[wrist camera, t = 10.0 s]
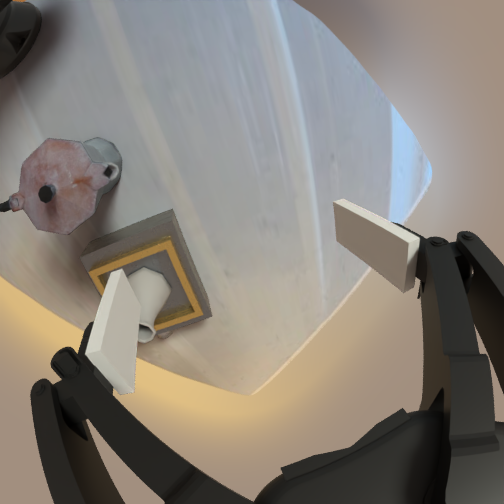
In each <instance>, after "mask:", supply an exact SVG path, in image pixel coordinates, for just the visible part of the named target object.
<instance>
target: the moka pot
mask: <svg viewBox="0 0 504 504" xmlns="http://www.w3.org/2000/svg"><path fill="white" fill-rule="evenodd" d="M121 171H122V157H121V155H120V153H119V151H118V150H117V148H116V147H115V145H114V144H113V143H111V142H109V141H107V140H105V139H101V138H98V137H97V138H94V139H91V140H88V141H85V142H80V141H72V140H63V139H54V138H48V139H46V140H45V141H44V142H43V143H42V144H41V145H40V146H39V147H38V148H37V149H36V150H35V151H34V152H33V153H32V154H31V155H30V156H29V157H28V158H27V159H26V160H25V161H24V162H23V164H22V168H21V176H20V186H19V191H18V193H15V194H13V195H11V196H10V197H9V200H8V201H6V202H4V203H1V204H0V212H6V211H8V210H11V209H12V211H13V212H15V211H18V210H22V209H23V210H24V211H25V212H26V214H27V215H28V217H29V218H30V220H31V221H32V223H33V224H34V226H35V227H36V228H37V230H42V231H47V232H52V233H58V234H64V235H69V234H70V233H71V232H73V231H74V230H75V229H76V228H77V227H78V226H80V225H81V224H82V223H83V222H84V221H86V220H87V219H88V218H89V217H91V216H92V215H93V214H94V213H95V211H96V209H97V206H98V204H99V201H100V199H101V197H102V194H105V193H107V192H109V191H110V190H111V189H112V188H113V187H114V185H115V184H116V183H117V182H118V180H119V179H120V177H121Z"/></svg>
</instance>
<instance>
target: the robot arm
mask: <svg viewBox="0 0 504 504" xmlns="http://www.w3.org/2000/svg"><path fill="white" fill-rule="evenodd" d="M40 25H41V13H40V11H39V9H38V8H37V7H35V6H34V5H33V4H31V3H29V2H16V1H12V0H0V78H1V77H3V76H5V75H6V74H8V73H9V72H10V71H12V70H13V69H14V68H15V67H16V66H17V65H18V64H19V63H20V62H21V60H22V59H23V58H24V57H25V55H26V54H27V53H28V51H29V50H30V48H31V47H32V45H33V43H34V41H35V39H36V37H37V35H38V32H39V29H40ZM333 206H334V216H335V227H336V239H337V242H339V243H340V244H341V245H343V246H344V247H345V248H347V249H348V250H349V251H351V252H352V253H353V254H355V255H356V256H357V257H359V258H360V259H361V260H363V261H364V262H365V263H366V264H368V265H369V266H370V267H372V268H373V269H374V270H376V271H377V272H378V273H379V274H381V275H382V276H383V277H384V278H386V279H387V280H388V281H389V282H391V283H392V284H393V285H394V286H396V287H397V288H398V289H399V290H401V291H402V292H403V293H404V292H406V291H408V290H410V289H411V288H413V287H414V284H415V277H417V278H418V279H420V280H421V281H420V287H419V293H418V299H419V298H420V296H421V307H422V321H423V349H424V365H423V367H424V368H423V393H422V401H421V405H420V408H419V411H414V412H410V413H406V411H405V410H404V409H403V408H402V409H400V410H399V411H397V412H396V413H394V414H392V415H391V416H389V417H388V418H386V419H384V420H383V421H381V422H379V423H378V424H376V425H375V426H374V427H373V428H372V429H371V430H370V431H369V432H368V433H367V434H365V435H364V436H363V437H362V438H361V439H360V440H358V441H357V442H356V443H355V444H354V445H352V446H351V447H349V448H345V449H341V450H337V451H333V452H328V453H323V454H318V455H313V456H311V457H308V458H306V459H303V460H301V461H298V462H295V463H293V464H290V465H287V466H284V467H281V470H282V473H283V474H281V475H279V476H278V477H276V478H275V479H274V480H272V481H271V482H270V483H269V484H267V485H266V486H265V487H264V489H263V490H262V491H261V492H260V493H259V495H258V496H257V497H256V499H255V501H254V502H253V501H251V500H249V499H247V498H245V497H243V496H242V495H240V494H238V493H236V492H234V491H233V490H231V489H229V488H227V487H226V486H224V485H222V484H221V483H219V482H218V481H216V480H214V479H213V478H211V477H209V476H208V475H207V474H205V473H204V472H202V471H201V470H199V469H198V468H197V467H195V466H193V465H192V464H191V463H189V462H188V461H187V460H185V459H184V458H183V457H181V456H180V455H179V454H177V453H176V452H175V451H173V450H172V449H171V448H170V447H168V446H167V445H166V444H165V443H163V442H162V441H161V440H160V439H159V438H158V437H156V436H155V435H154V434H153V433H152V432H151V431H149V430H148V429H147V428H146V427H145V426H144V425H143V424H142V423H141V422H140V421H138V420H137V419H136V418H135V417H134V416H133V415H132V414H131V413H130V412H129V411H128V410H127V409H126V408H125V407H124V406H123V405H122V404H121V403H120V402H119V401H118V400H117V399H116V398H115V397H114V396H113V388H114V389H115V390H116V391H117V392H118V393H119V394H120V395H123V394H128V393H133V392H135V370H136V354H137V341H138V330H139V321H140V312H141V305H140V303H139V301H138V299H137V297H136V295H135V293H134V291H133V290H132V288H131V286H130V284H129V282H128V279H127V277H126V275H125V273H124V271H123V269H120V270H117V271H114V272H111V274H110V277H109V279H108V282H107V285H106V288H105V291H104V293H103V296H102V299H101V302H100V305H99V308H98V311H97V314H96V318H95V321H94V322H90V323H89V325H88V326H87V328H86V329H85V331H84V334H83V339H82V341H81V345H80V347H79V351H78V354H77V353H76V352H75V350H74V349H73V348H71V347H65V348H62V349H60V350H59V351H58V352H57V353H56V354H55V355H54V356H53V358H52V360H51V368H52V369H53V370H54V371H55V372H56V374H57V375H58V376H59V377H60V378H61V379H62V380H61V381H59V382H57V383H55V384H52V383H51V382H50V381H49V380H47V379H40V380H39V381H37V382H36V383H35V384H34V385H33V387H32V390H31V394H30V396H31V406H32V414H33V422H34V428H35V434H36V439H37V444H38V449H39V454H40V458H41V462H42V466H43V470H44V473H45V477H46V480H47V484H48V487H49V490H50V493H51V496H52V499H53V501H54V504H125V502H124V501H123V499H122V498H121V496H120V494H119V492H118V490H117V488H116V487H115V485H114V483H113V481H112V479H111V478H110V475H109V473H108V471H107V469H106V467H105V465H104V463H103V461H102V459H101V456H100V454H99V452H98V450H97V447H96V445H95V442H94V440H93V438H92V435H91V433H90V430H89V427H88V424H87V422H86V419H89V420H90V422H91V423H92V424H93V426H94V427H95V428H96V430H97V431H98V432H99V434H100V435H101V436H102V437H103V439H104V440H105V441H106V442H107V443H108V445H109V446H110V447H111V448H112V449H113V450H114V451H115V453H116V454H117V455H118V456H119V457H120V458H121V459H122V461H123V462H124V463H125V464H126V465H127V466H128V467H129V468H130V469H131V470H132V471H133V472H134V473H135V474H136V475H137V476H138V477H139V478H140V479H141V480H142V481H143V482H144V483H145V484H146V485H147V486H148V487H149V488H150V489H152V490H153V491H154V492H155V493H156V494H157V495H158V496H159V497H160V498H161V499H163V500H164V502H165V504H504V422H497V421H495V414H494V397H493V386H492V377H491V370H490V364H489V359H488V356H487V355H486V354H480V353H479V348H478V342H477V338H476V332H475V327H476V329H477V331H478V333H479V335H480V337H481V339H482V341H483V344H484V346H485V348H486V350H487V352H488V355H489V357H490V360H491V362H492V365H493V367H494V370H495V373H496V375H497V378H498V381H499V383H500V386H501V388H502V391H503V394H504V266H503V264H502V263H501V262H500V261H499V259H498V258H497V257H496V256H495V255H494V254H493V252H491V250H490V249H489V248H488V247H487V246H486V245H485V244H484V243H483V242H482V240H481V239H480V238H479V237H478V236H476V235H475V234H474V233H471V232H470V231H469V232H468V231H461V232H459V233H458V234H457V240H456V242H451V243H449V242H448V241H447V240H445V239H444V238H441V237H430V238H428V239H426V238H424V237H423V236H421V235H419V234H417V233H415V232H413V231H411V230H410V229H408V228H405V227H404V226H402V225H400V224H398V223H394V222H390V221H388V220H386V219H384V218H382V217H380V216H378V215H376V214H374V213H372V212H370V211H368V210H366V209H364V208H362V207H359V206H357V205H355V204H353V203H351V202H349V201H347V200H345V199H341V200H337V201H334V202H333ZM472 271H473V272H474V273H473V274H472ZM474 325H475V327H474Z"/></svg>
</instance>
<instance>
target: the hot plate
mask: <svg viewBox="0 0 504 504" xmlns="http://www.w3.org/2000/svg"><path fill="white" fill-rule="evenodd" d="M80 260H81V262H82V264H83V265H84V267H85V269H86V271H87V273H88V275H89V277H90V278H91V280H92V282H93V284H94V285H95V287H96V289H97V291H98V292H99V294H100V296H101V297H102V296H103V293H104V291H105V288H106V285H107V282H108V279H109V277H110V274H111V272H114V271H117V270H120V269H123V271H124V273H125V275H126V277H128V276H129V275H131V274H132V273H134V272H136V271H138V270H140V269H141V268H143V267H144V268H147V269H150V270H152V271H155V272H157V273H160V274H162V275H163V276H164V278H165V279H166V281H167V282H168V284H169V285H170V287H171V288H172V291H171V293H170V295H169V297H168V300H167V302H166V304H165V305H164V307H163V308H162V310H161V311H160V312H159V314H158V315H157V317H156V318H155V321H154V329H155V330H156V334H155V335H157V336H158V337H159V338H161V339H164V338H167V337H169V336H170V335H171V334H172V332H173V330H174V329H177V328H180V327H183V326H186V325H189V324H192V323H195V322H198V321H201V320H203V319H206V318H209V317H212V312H211V308H210V304H209V300H208V296H207V293H206V291H205V289H204V286H203V284H202V282H201V279H200V277H199V274H198V272H197V270H196V267H195V265H194V262H193V260H192V257H191V255H190V252H189V250H188V247H187V245H186V242H185V240H184V237H183V234H182V232H181V229H180V227H179V224H178V221H177V219H176V216H175V213H174V211H173V209H171V210H168V211H165V212H163V213H160V214H157V215H155V216H152V217H150V218H147V219H145V220H142V221H140V222H137V223H135V224H132V225H130V226H127V227H125V228H122V229H120V230H118V231H115V232H113V233H110V234H108V235H106V236H103V237H101V238H99V239H97V240H94V241H92V242H90V243H89V245H88V246H87V248H86V249H85V251H84V252H83V254H82V255H81V256H80Z"/></svg>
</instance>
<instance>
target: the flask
mask: <svg viewBox="0 0 504 504" xmlns="http://www.w3.org/2000/svg"><path fill="white" fill-rule="evenodd" d="M127 279H128V282H129V284H130V286H131V288H132V290H133V291H134V293H135V295H136V297H137V299H138V301H139V303H140V305H141V312H140V321H139V330H138V342H141V343H144V344H145V343H147V342H149V341H152V340H153V338H154V336H155V334H156V330H155V329H154V321H155V318H156V317H157V315H158V314H159V312H160V311H161V310H162V308H163V307H164V305H165V304H166V302H167V300H168V297H169V295H170V293H171V291H172V288H171V287H170V285H169V284H168V282H167V281H166V279H165V278H164V276H163V275H162V274H160V273H157V272H155V271H152V270H150V269H147V268H144V267H143V268H141V269H140V270H138V271H136V272H134V273H132V274H131V275H129V276H128V277H127Z"/></svg>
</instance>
